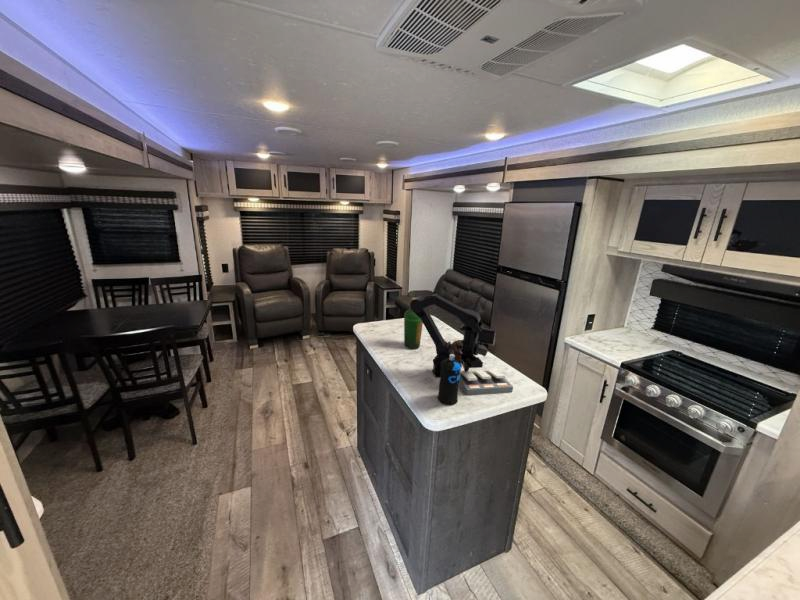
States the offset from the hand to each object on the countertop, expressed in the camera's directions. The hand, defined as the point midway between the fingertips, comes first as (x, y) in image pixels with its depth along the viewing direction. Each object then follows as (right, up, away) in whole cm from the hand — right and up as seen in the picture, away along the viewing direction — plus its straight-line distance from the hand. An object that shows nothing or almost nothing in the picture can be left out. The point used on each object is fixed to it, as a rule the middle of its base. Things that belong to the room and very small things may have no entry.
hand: (465, 371), depth 140 cm
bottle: (-23, +6, +32) cm, 40 cm away
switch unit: (+7, -5, -2) cm, 9 cm away
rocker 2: (+7, -2, -2) cm, 8 cm away
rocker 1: (+1, -2, -3) cm, 4 cm away
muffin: (+1, +1, +20) cm, 20 cm away
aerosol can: (-11, -8, -14) cm, 19 cm away
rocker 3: (+13, -2, -1) cm, 14 cm away
